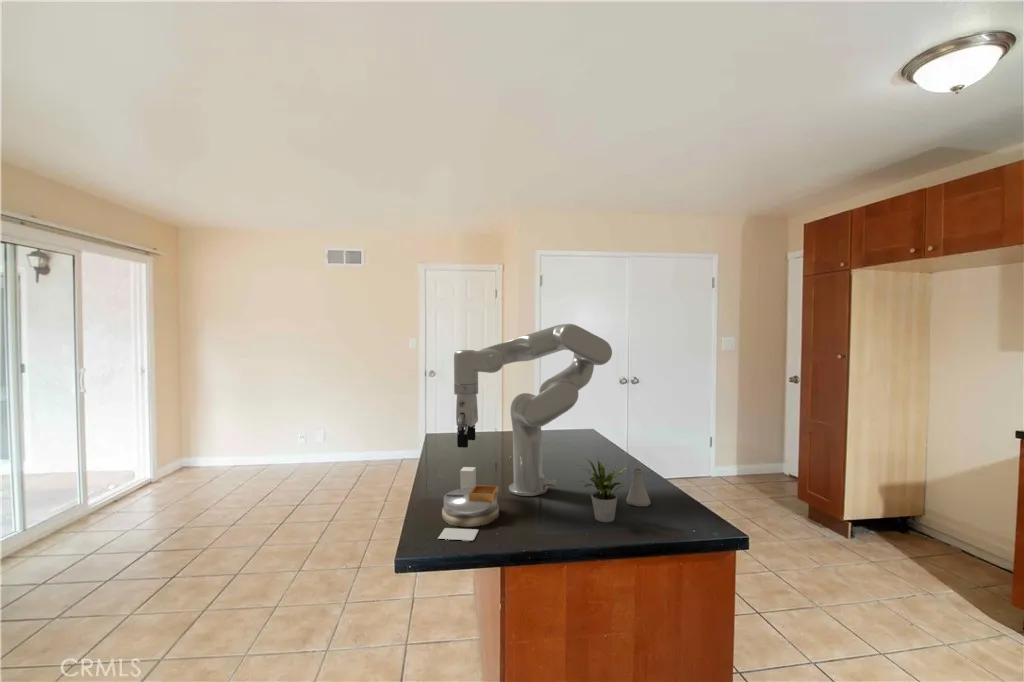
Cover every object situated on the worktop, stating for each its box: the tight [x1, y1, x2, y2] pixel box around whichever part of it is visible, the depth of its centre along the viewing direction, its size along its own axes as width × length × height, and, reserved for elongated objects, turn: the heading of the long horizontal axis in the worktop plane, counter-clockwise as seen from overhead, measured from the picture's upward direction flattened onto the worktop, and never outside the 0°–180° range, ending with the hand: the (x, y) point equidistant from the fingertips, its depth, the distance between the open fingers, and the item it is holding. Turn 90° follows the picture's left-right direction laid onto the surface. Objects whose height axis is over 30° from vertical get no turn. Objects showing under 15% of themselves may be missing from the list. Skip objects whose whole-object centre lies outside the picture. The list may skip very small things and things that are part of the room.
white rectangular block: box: [459, 466, 477, 489], centre depth 137 cm, size 4×4×9 cm
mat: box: [437, 527, 479, 542], centre depth 111 cm, size 9×6×1 cm, turn 82°
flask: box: [625, 467, 652, 507], centre depth 130 cm, size 7×7×10 cm
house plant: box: [575, 458, 628, 523], centre depth 120 cm, size 14×14×16 cm
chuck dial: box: [443, 484, 500, 518], centre depth 123 cm, size 15×15×5 cm
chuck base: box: [441, 503, 500, 528], centre depth 123 cm, size 16×16×2 cm
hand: (466, 443), depth 137 cm, fingers open, 9 cm apart
